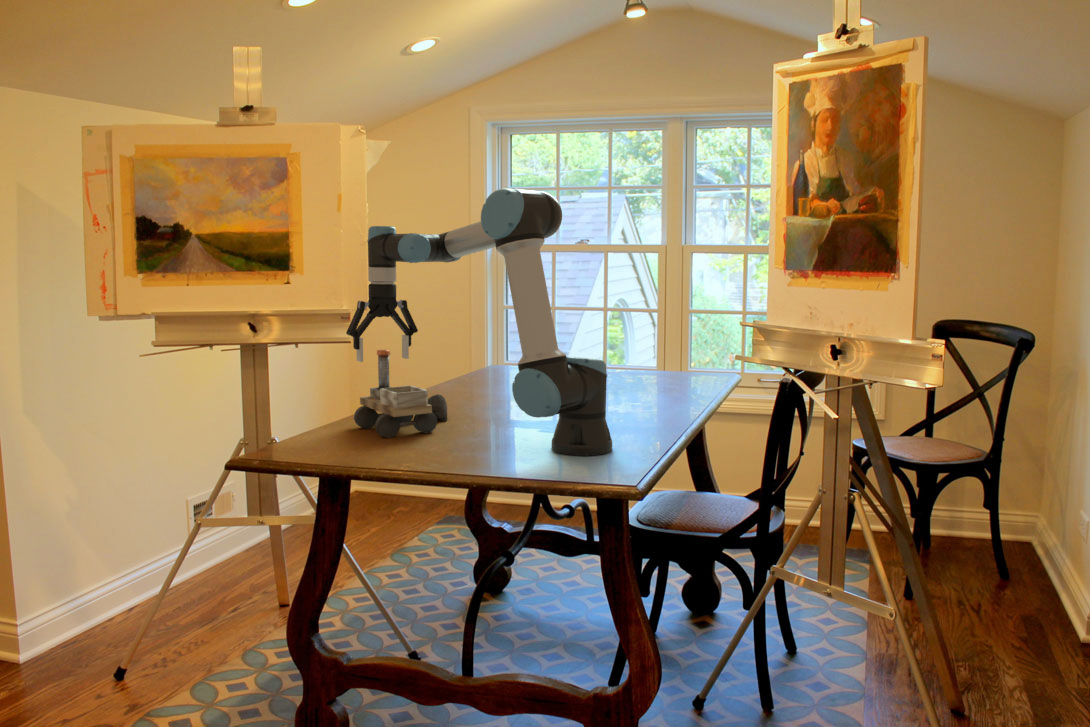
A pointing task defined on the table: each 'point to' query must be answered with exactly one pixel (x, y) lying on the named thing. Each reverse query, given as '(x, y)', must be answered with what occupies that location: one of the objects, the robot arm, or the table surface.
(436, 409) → the stone
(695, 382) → the table surface
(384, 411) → the cart
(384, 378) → the pin
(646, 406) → the table surface
